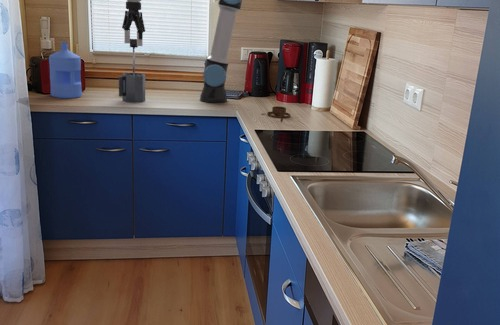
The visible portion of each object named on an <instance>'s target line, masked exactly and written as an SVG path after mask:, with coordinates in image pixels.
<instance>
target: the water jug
mask: <svg viewBox="0 0 500 325" xmlns="http://www.w3.org/2000/svg"><path fill="white" fill-rule="evenodd" d="M60 43H61V45H60V46H61V49H60V50H59V51H57V52H54V53H52V54H50V55H49V57H48V64H49V80H50V81H49V82H50V96H51V97H53V98H58V99H76V98H80V97H82V95H83V91H82V80H81V79H82V78H81V76H82V75H81V70H82V66H81V64H82V60H81V56H79V55H78V54H76V53H75V52H72V51H71V50H69V48H68V46H69V45H68V41H60Z"/></svg>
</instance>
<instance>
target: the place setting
mask: <svg viewBox="0 0 500 325" xmlns="http://www.w3.org/2000/svg"><path fill="white" fill-rule="evenodd" d="M271 109H272V110H271V111H267V112H266V113H265V112H264V113H261V115H267V117H270V118H273V119H280V123H283V121H284V119H289V118H291V113H290V112H287V108H286V107H284V106H278V105H277V106H276V105H275V106H272V108H271Z"/></svg>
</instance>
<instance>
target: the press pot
mask: <svg viewBox="0 0 500 325" xmlns="http://www.w3.org/2000/svg"><path fill="white" fill-rule="evenodd" d="M118 96H119V97H121V98H122V102H125V103H131V104H132V103H133V104H139V103H144V102H146V74H144V73H139V72H135V76H133V72H124V73H122V74H121V76H118Z"/></svg>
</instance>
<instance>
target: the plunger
mask: <svg viewBox="0 0 500 325" xmlns="http://www.w3.org/2000/svg"><path fill="white" fill-rule="evenodd" d="M138 47H139V46H137V38H130V43H129V48H132V73H133V76H135V73H136V48H138Z"/></svg>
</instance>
